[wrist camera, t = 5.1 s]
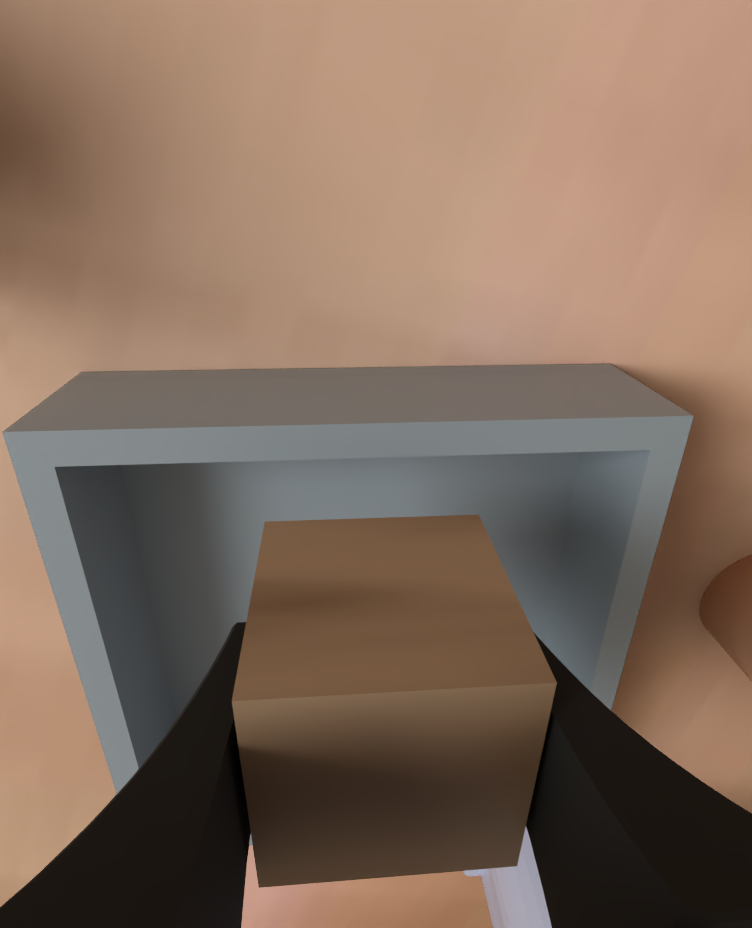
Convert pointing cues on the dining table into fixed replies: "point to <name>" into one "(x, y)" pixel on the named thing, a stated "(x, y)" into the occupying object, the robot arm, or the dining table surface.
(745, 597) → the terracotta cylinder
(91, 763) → the dining table surface
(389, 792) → the walnut cube
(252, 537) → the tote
